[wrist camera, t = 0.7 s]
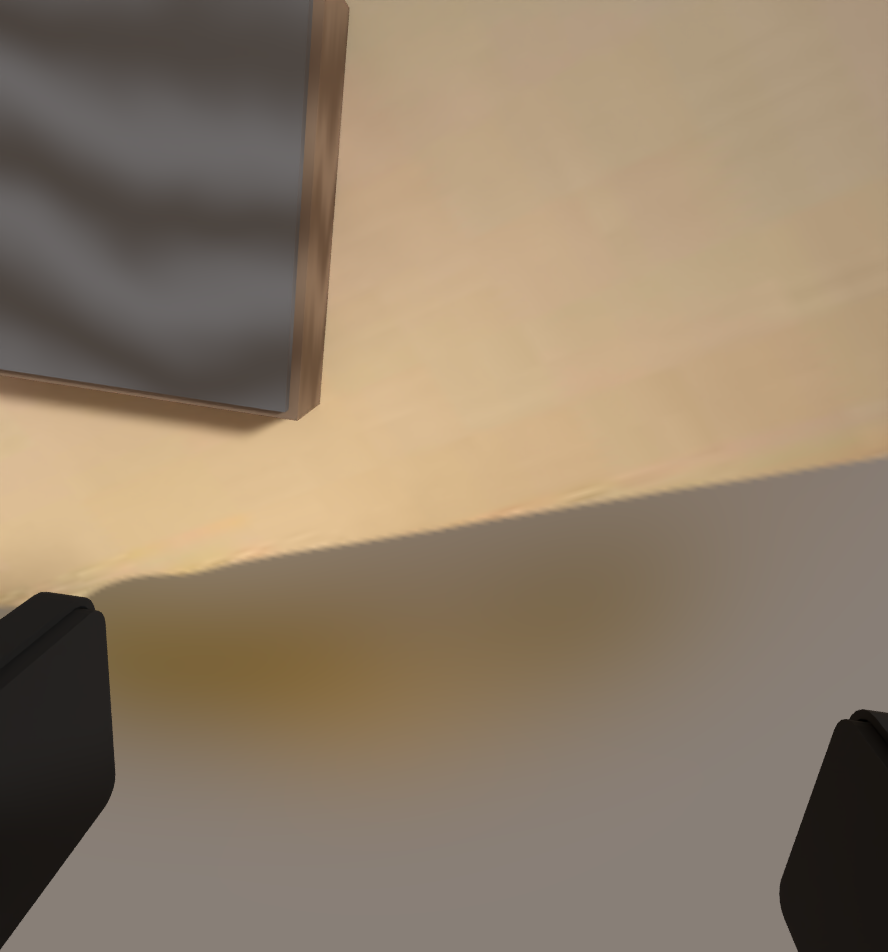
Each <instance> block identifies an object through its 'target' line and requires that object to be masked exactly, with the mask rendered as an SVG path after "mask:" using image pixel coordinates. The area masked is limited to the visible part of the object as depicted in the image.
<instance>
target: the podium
mask: <svg viewBox="0 0 888 952" xmlns="http://www.w3.org/2000/svg"><path fill="white" fill-rule="evenodd" d="M348 20H349V7H348V5H347V3H346V2H345V0H0V375H1V376H8V377H14V378H21V379H27V380H34V381H40V382H47V383H53V384H60V385H67V386H73V387H80V388H86V389H93V390H99V391H106V392H112V393H119V394H126V395H132V396H139V397H145V398H152V399H158V400H165V401H171V402H178V403H185V404H191V405H198V406H204V407H211V408H217V409H224V410H230V411H237V412H243V413H250V414H257V415H263V416H270V417H276V418H283V419H289V420H296V421H298V420H299V419H300V418H302V417H303V416H304V415H305V414H307V413H308V412H309V411H311V410H312V409H313V408H315V407H316V406H317V405H319V404H320V392H321V379H322V366H323V352H324V339H325V326H326V312H327V299H328V286H329V272H330V259H331V246H332V233H333V219H334V206H335V193H336V179H337V166H338V153H339V139H340V126H341V113H342V100H343V86H344V73H345V60H346V46H347V33H348Z"/></svg>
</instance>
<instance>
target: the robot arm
mask: <svg viewBox="0 0 888 952" xmlns="http://www.w3.org/2000/svg"><path fill="white" fill-rule="evenodd" d="M114 783H115V762H114V747H113V731H112V716H111V702H110V686H109V671H108V655H107V641H106V624H105V618H104V616H103V614H102V613H101V612H99V611H96V610H95V608H94V605H93V603H92V602H91V600H89V599H88V598H85V597H78V596H72V595H65V594H58V593H51V592H40V593H38V594H36V595H34V596H33V597H31V598H30V599H28V600H27V601H26V602H24V603H23V604H21V605H20V606H19V607H17V608H16V609H14V610H13V611H12V612H10V613H9V614H7V615H6V616H5V617H3V618H2V619H0V949H1V948H2V946H3V945H4V944H5V942H6V941H7V940H8V938H9V937H10V936H11V934H12V933H13V931H14V930H15V929H16V927H17V926H18V925H19V923H20V922H21V920H22V919H23V918H24V916H25V915H26V914H27V912H28V911H29V910H30V908H31V907H32V906H33V904H34V903H35V902H36V900H37V899H38V897H39V896H40V895H41V893H42V892H43V891H44V889H45V888H46V886H47V885H48V884H49V882H50V881H51V880H52V878H53V877H54V876H55V874H56V873H57V872H58V870H59V869H60V867H61V866H62V865H63V863H64V862H65V861H66V859H67V858H68V856H69V855H70V854H71V852H72V851H73V850H74V848H75V847H76V846H77V844H78V843H79V842H80V840H81V839H82V837H83V836H84V835H85V833H86V832H87V831H88V829H89V828H90V827H91V825H92V824H93V822H94V821H95V820H96V818H97V817H98V815H99V814H100V813H101V812H102V810H103V809H104V807H105V806H106V804H107V803H108V800H109V798H110V796H111V793H112V791H113V788H114ZM779 895H780V904H781V910H782V913H783V916H784V919H785V921H786V923H787V926H788V928H789V931H790V933H791V936H792V938H793V941H794V943H795V945H796V947H797V950H798V952H888V713H885V712H878V711H871V710H864V709H862V710H858V711H856V712H855V713H854V714H852V715H851V717H850V719H849V720H848V719H844V720H841V721H840V722H839V723H838V724H837V725H836V727H835V729H834V732H833V735H832V738H831V741H830V744H829V746H828V749H827V752H826V755H825V758H824V760H823V763H822V766H821V769H820V772H819V774H818V777H817V780H816V783H815V786H814V789H813V791H812V794H811V797H810V800H809V803H808V805H807V808H806V811H805V814H804V817H803V820H802V823H801V825H800V828H799V831H798V834H797V836H796V839H795V842H794V845H793V848H792V851H791V853H790V857H789V859H788V862H787V865H786V868H785V870H784V874H783V876H782V879H781V883H780V893H779Z"/></svg>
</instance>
